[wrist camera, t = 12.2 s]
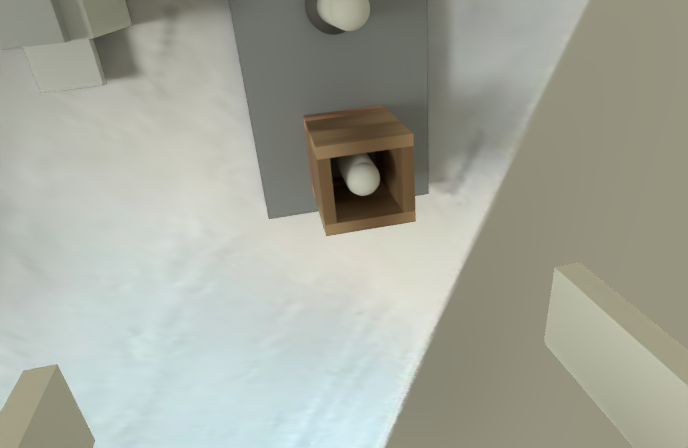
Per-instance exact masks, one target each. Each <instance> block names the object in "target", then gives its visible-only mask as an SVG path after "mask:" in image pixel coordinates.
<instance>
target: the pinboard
mask: <svg viewBox="0 0 688 448" xmlns="http://www.w3.org/2000/svg"><path fill="white" fill-rule="evenodd" d="M229 5H230V10H231V16H232V21H233V26H234V32H235V37H236V43H237V48H238V54H239V59H240V65H241V70H242V75H243V81H244V86H245V92H246V97H247V103H248V108H249V114H250V119H251V125H252V130H253V135H254V141H255V146H256V152H257V157H258V163H259V168H260V174H261V179H262V185H263V190H264V195H265V201H266V206H267V212H268V217H269V219H272V218H279V217H285V216H291V215H298V214H304V213H310V212H316V211H319V210H318V207H317V204H316V200H315V197H314V194H313V190H312V182H311V175H310V167H309V160H308V152H307V144H306V137H305V129H304V122H303V116H305V115H313V114H320V113H327V112H335V111H342V110H350V109H357V108H365V107H372V106H380V105H382V106H384V107H385V108H386V109H387V110H388V111H389V112H390V113H391V114H392V115H394V116H395V117H396V118H397V119H398V120H399V121H400V122H401V123H402V124H404V125H405V126H406V127H407V128H408V129H409V130H410V131H411V132H412V133H413V135H414V178H415V196H418V195H424V194H428V81H427V0H229ZM330 164H331V173H332V178H338V177H343V178H344V180H345V182H346V184H347V186H348V188H349V189H350V191H352V192H353V193H354V194H357V195H360V196H366V195H369V194H371V193H373V192H374V191H375V190H376V189H377V187H378V185H379V182H380V174H379V171H378V169H377V168H376V163H375V152H368V153H361V154H354V155H347V156H340V157H333V158H330Z"/></svg>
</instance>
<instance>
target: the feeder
mask: <svg viewBox="0 0 688 448" xmlns="http://www.w3.org/2000/svg"><path fill="white" fill-rule="evenodd" d="M130 26H132V22H131V18H130V15H129V11H128V8H127V4H126V0H0V50H2V49H11V48H20V47H23V50H24V52H25V55H26V58H27V60H28V63H29V65H30V68H31V71H32V73H33V76H34V79H35V81H36V84H37V86H38V89H39V92H40V93H46V92H54V91H63V90H71V89H79V88H87V87H96V86H104V85H105V84H107V81H106V78H105V75H104V72H103V69H102V66H101V62H100V59H99V56H98V53H97V50H96V46H95V43H94V40H93V38H96V37H99V36H102V35H105V34H108V33H111V32H114V31H117V30H121V29H124V28H127V27H130Z"/></svg>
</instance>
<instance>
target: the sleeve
mask: <svg viewBox="0 0 688 448" xmlns="http://www.w3.org/2000/svg"><path fill="white" fill-rule="evenodd" d="M303 122H304V129H305V137H306V144H307V152H308V160H309V167H310V175H311V182H312V190H313V194H314V197H315V200H316V204H317V207H318V210H319V213H320V217H321V220H322V223H323V227H324V230H325V233H326V236H330V235H336V234H342V233H348V232H354V231H360V230H366V229H372V228H378V227H384V226H390V225H397V224H403V223H409V222H415V178H414V135H413V133H412V132H411V131H410V130H409V129H408V128H407V127H406V126H405V125H404V124H402V123H401V122H400V121H399V120H398V119H397V118H396V117H395V116H394V115H392V114H391V113H390V112H389V111H388V110H387V109H386V108H385V107H384V106H382V105H380V106H372V107H365V108H357V109H350V110H342V111H335V112H327V113H320V114H313V115H305V116H303ZM368 152H375V163H376V168H377V169H378V171H379V174H380V182H379V185H378V187H377V189H376V190H375V191H374V192H373V193H371V194H369V195H366V196H360V195H357V194H354V193H353V192H352V191H350V189H349V188H348V186H347V184H346V182H345V180H344V178H343V177H338V178H332V173H331V164H330V158H333V157H340V156H347V155H354V154H361V153H368Z"/></svg>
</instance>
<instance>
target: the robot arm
mask: <svg viewBox="0 0 688 448" xmlns="http://www.w3.org/2000/svg"><path fill="white" fill-rule="evenodd" d="M544 343H545V344H546V346H547V347H548V348H549V349H550V350H551V351H552V353H553V354H554V355H555V356H556V357H557V358H558V360H559V361H560V362H561V363H562V364H563V366H565V368H566V369H567V370H568V371H569V372H570V374H571V375H572V376H573V377H574V378H575V380H576V381H577V382H578V383H579V384H580V385H581V386H582V388H583V389H584V390H585V391H586V392H587V394H588V395H589V396H590V397H591V398H592V399H593V401H594V402H595V403H596V404H597V405H598V407H599V408H600V409H601V410H602V411H603V412H604V413H605V415H606V416H607V417H608V418H609V419H610V421H611V422H612V423H613V424H614V425H615V426H616V428H617V429H618V430H619V431H620V432H621V433H622V435H623V436H624V437H625V438H626V439H627V440H628V442H629V443H630V444H631V445H632V446H633V447H634V448H688V350H687V349H686V348H685V347H683V346H682V345H681V344H680V343H678V342H677V341H676V340H675V339H673V338H672V337H671V336H670V335H669V334H667V333H666V332H665V331H664V330H662V329H661V328H660V327H659V326H658V325H656V324H655V323H654V322H652V321H651V320H650V319H649V318H648V317H646V316H645V315H644V314H643V313H642V312H640V311H639V310H638V309H637V308H635V307H634V306H633V305H632V304H630V303H629V302H628V301H627V300H626V299H624V298H623V297H622V296H621V295H619V294H618V293H617V292H616V291H614V290H613V289H612V288H611V287H610V286H608V285H607V284H606V283H605V282H603V281H602V280H601V279H600V278H599V277H597V276H596V275H595V274H594V273H592V272H591V271H590V270H589V269H587V268H586V267H585V266H584V265H583V264H581V263H580V262H578V263H573V264H567V265H562V266H557V267H555V269H554V275H553V282H552V289H551V296H550V303H549V310H548V317H547V324H546V331H545V338H544ZM94 442H95V439H94V437H93V435H92V433H91V431H90V429H89V427H88V425H87V423H86V421H85V419H84V417H83V415H82V413H81V411H80V409H79V407H78V405H77V403H76V401H75V399H74V397H73V395H72V393H71V391H70V389H69V387H68V385H67V383H66V381H65V379H64V377H63V375H62V373H61V371H60V369H59V367H58V365H57V364H56V365H51V366H46V367H41V368H36V369H31V370H25V371H23V373H22V374H21V376H20V378H19V380H18V382H17V383H16V385H15V387H14V389H13V391H12V393H11V394H10V396H9V398H8V400H7V402H6V403H5V405H4V407H3V409H2V411H1V412H0V448H93V445H94Z"/></svg>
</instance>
